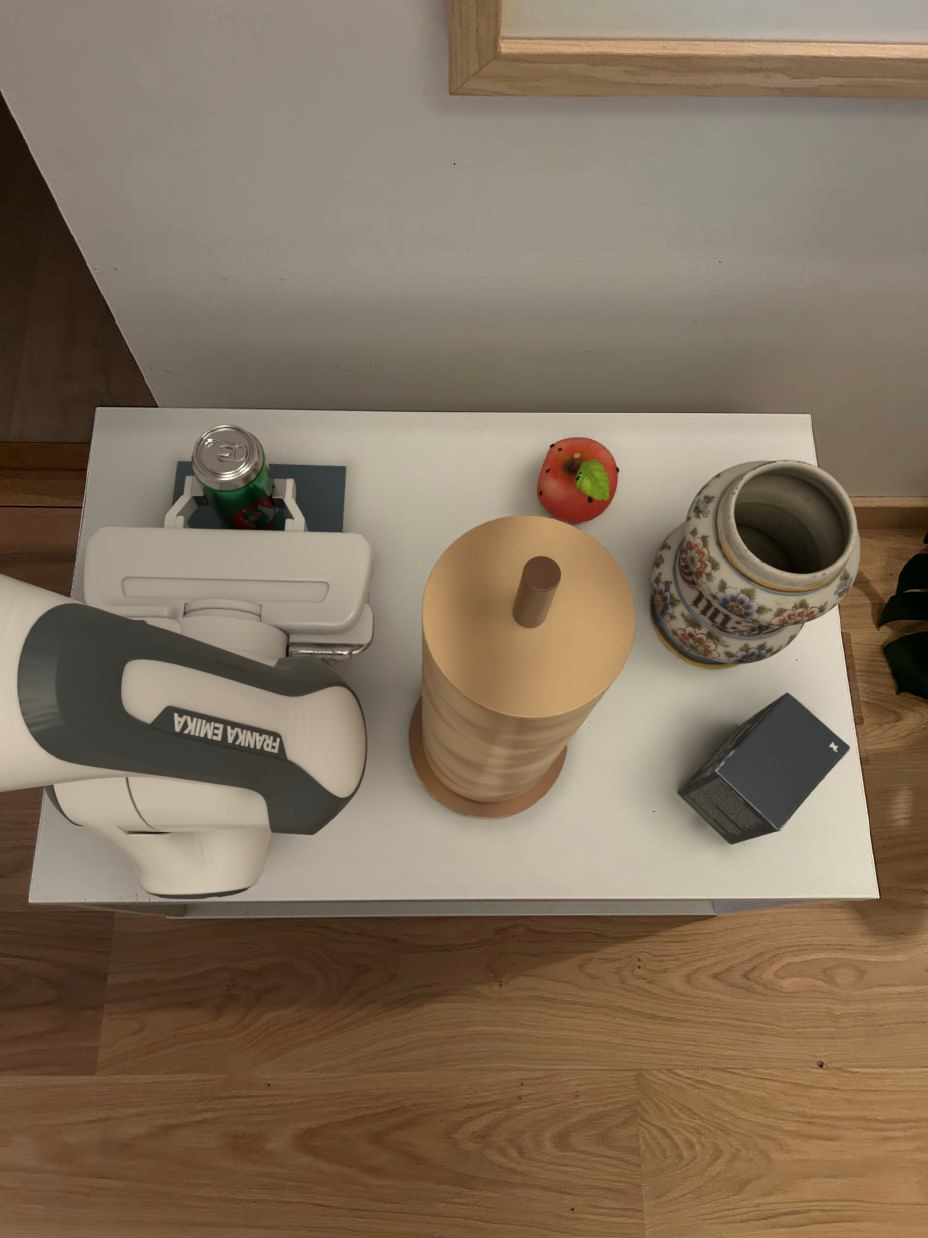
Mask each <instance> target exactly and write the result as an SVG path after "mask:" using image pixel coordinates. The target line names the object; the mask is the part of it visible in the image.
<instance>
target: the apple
mask: <svg viewBox="0 0 928 1238" xmlns="http://www.w3.org/2000/svg"><path fill="white" fill-rule="evenodd" d="M619 473H620V467H618V466H617V463H616V460H615V458H614V456H613V454H612V452H611V451H610V450H609V449H608V448H607V447H606V446H605V445H603V444H602V443H601V442H599V441H597V440H594V439H593V438H588V437H583V436H575V437H567V438H563V439H559V440H557V441H556V442H554V443H551V444H550V445H549V449H548V450H547V453H546V456H545V458H544V460H543V463H542V466H541V469H540V472H539V474H538V475H539V476H538V480H537V485H536V494H537V499H538V501H539V503H540V505H541V506H542V508H543V509H544V510H545V511H546V512H547V513H549V515H551V516H552V517H554V519H556V520H559V521H562V522H564V523H568V524H580V523H581V524H582V523H586V522H589V521H592V520H594V519H596V518H598V517H599V516H601V515H602V514H603V513H604V512H605V511H606V510H607V509H608V508H609V507H610V505H611V503H612V501H613V500H614V498H615V495H616V492H617V489H618V482H619Z"/></svg>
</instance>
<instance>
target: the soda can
mask: <svg viewBox="0 0 928 1238" xmlns="http://www.w3.org/2000/svg"><path fill="white" fill-rule="evenodd" d="M190 461H191V465H192V470H193V473H194V475H195V477H196V479H197V481H198V483H199V485H200V487H201V489H202V491H203V493H204V495H205V497H206V499H207V501H208V503H209V505H210V507H211V509H212V511H213V513H214V515H215V517H216V519H217V521H218V524H219V526H220V528H221V529H230V530H266V531H283V530H284V527H285V514H284V511H283V508H275V505H274V502H273V499H272V492H273V489H274V485H273V481H274V480H273V477H272V474H271V471H270V468H269V465H268V464H269V461H268V459H267V456H266V454H265V451H264V447H263V445H262V443H261V441H260V440H259V439H258V438H257V437H256V436H255V435H254V434H252V433H251V432H250V431H247V430H246V429H245V428H242V427H241V426H238V425H235V424H228V423H227V424H218V425H215V426H212V427H210V428H208V429H207V430H205V431H204V432H203V433H201V435H200V436H199V437H198V439H196V442H195V443H194V446H193V451H192V454H191V459H190Z"/></svg>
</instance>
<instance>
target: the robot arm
mask: <svg viewBox="0 0 928 1238" xmlns="http://www.w3.org/2000/svg"><path fill="white" fill-rule="evenodd" d="M273 485H274V489H273V492H272V499H273V502H274V505H275V508H284V509H287V511H288V513H289V515H290V517H291V519H287V520H286V523H285V531H266V530H230V529H192V528H190V527H189V525H188V523H187V521H188V520H189V518H190V517H191V515H192V514H193V513H194V511H195V510H196V509H197V507H198V506H209V503H208V501H207V499H206V497H205V495H204V493H203V491H202V489H201V487H200V485H199V483H198V481H197V479H196V477H195V476H186V479H185V487H184V495H182V496H181V497H180V498H179V499H178V501H177V502H176V503H175V504H174V505H173V506H172V505H171V508H170V509H169V510H168V511H167V513H165V515H164V522H163V527H157V526H156V527H155V526H154V527H153V526H152V527H151V526H150V527H149V526H121V525H120V526H119V525H117V526H116V525H102V526H100V527H99V528H97V529H96V530H95V531H94V532H93V533H92V534H91V535H90V536H89V537H88V539H87V542H86V547H85V553H84V563H83V564H84V565H83V598H84V602H85V603H84V602H82V601H79V600H76V599H74V598H72V597H69V596H65V595H62V594H60V593H57V592H55V591H52V590H49V589H46V588H44V587H40V586H37V585H34V584H31V583H29V582H25V581H22V580H20V579H16V578H15V577H11V576H8V575H5V574H2V573H0V793H4V792H11V791H17V790H24V789H32V788H38V787H43V789H44V791H45V793H46V795H47V798H48V799H49V801H50V802H51V803H52V805H53V806H54V808H55V809H56V810H57V811H58V812H59V813H60V814H61V815H62V817H64V818H65V819H66V820H67V821H68V822H69V823H71V824H72V825H74V826H77V827H86V828H88V829H89V830H91V831H93V832H95V833H96V834H98V835H99V836H101V837H103V838H104V839H105V840H106V841H108V842H109V843H111V844H112V845H113V846H114V847H116V848H117V849H119V851H121V852H122V854H124V855H125V856H126V857H127V859H128V860H129V861H130V862H131V864H132V865H133V869H134V872H135V878H136V881H137V884H138V886H139V888H140V889H141V890H142V891H143V892H145V893H146V894H149V895H152V896H154V897H158V898H160V899H169V900H206V899H208V898H225V897H229V896H230V897H231V896H235V895H238V894H241V893H244V892H246V891H248V890H249V889H250V888H252V887H254V886H255V885H257V884H258V883H259V882H260V879H261V876H262V873H263V870H264V868H265V864H266V860H267V858H268V857H267V856H268V852H269V848H270V842H271V840H272V839H271V838H272V834H282V835H283V834H284V835H285V834H286V835H302V836H314V835H317V833H319V832H320V831H321V830H322V829H324V828H325V827H326V826H327V825H328V824H329V823H330V822H332V821H333V820H334V819H335V818H336V817H337V816H339V814H340V813H342V812H343V810H344V809H345V808H346V806H348V805H349V803H351V800H352V799H353V798H354V797H355V796H356V794H357V793H358V791H359V789H360V787H361V785H362V782H363V779H364V775H365V771H366V767H367V760H368V759H367V758H368V733H367V732H368V731H367V724H366V719H365V715H364V710H363V708H362V705H361V702H360V699H359V697H358V695H357V694H356V692H355V691H354V689H353V688H352V687H351V686H350V684H349V683H348V682H347V681H346V680H345V679H344V678H343V677H342V675H340V674H339V672H337V671H336V670H335V669H334V668H333V667H331V665H329V664H328V663H326V662H325V661H323V660H332V661H335V662H336V661H337V662H345V661H350V660H352V658H353V656H357V655H360V654H362V653H363V652H365V651H366V650H367V649H368V648H369V647H370V646H371V644H372V643H373V640H374V637H375V625H376V624H375V622H376V616H375V612H374V609H373V608H372V605H370V604H369V599H370V594H371V589H372V582H373V573H374V562H375V561H374V560H375V559H374V550H373V546H372V544H371V543H370V541H369V540H368V539H367V538H366V536H364V534H363V533H360V532H342V533H340V532H308V529H307V525H306V522H305V519H304V517H303V515H302V513H301V511H300V510H299V508H298V506H297V504H296V502H295V500H296V485H295V481H294V479H274V481H273ZM353 647H356V648H354V649H353Z"/></svg>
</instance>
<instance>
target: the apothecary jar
mask: <svg viewBox="0 0 928 1238" xmlns="http://www.w3.org/2000/svg"><path fill="white" fill-rule="evenodd" d="M856 515H857V514H856V512H855V508H854V505H853V502H852V500H851V498H850V497H849V495H848V493H847V491H846V490H845V488H843V486H842V485H841V483H839V481H838V480H836V479H835V478H834V476H833V475H831V474H830V473H828V472H827V471H826V470H824V469H823V468H820V467H818V466H816V465H813V464H811V463H810V462H809V463H808V462H805V461H801V460H796V459H778V460H777V459H776V460H753V461H747V462H742V463H738V464H736V465H733V466H731V467H728V468H726V469H723V470H722V471H720V472H719V473H717V474H715V475H714V476H713V477H711V479H709V480H708V481H707V482H706V483H705V484H704V485H703V486H702V487H701V488H700V489H699V491H698V492H697V494H696V495H695V497H694V498H693V500H692V501H691V504H690V505H689V507H688V510H687V514H686V517H685V521H683V522H682V523H681V524H679V525H677V526H676V527H675V528H674V529H672V531H671V532H670V533H669V534H668V535H667V536H666V537H665V539H664V540H663V541H662V543H661V544H660V546H659V548H658V550H657V552H656V554H655V557H654V560H653V563H652V567H651V574H650V587H651V588H650V589H651V591H650V594H649V615H650V619H651V623H652V626H653V629H654V631H655V634H656V635H657V637H658V638H659V640H660V641H661V642H662V644H663V645H664V646H665V647H666V648H667V649H668V650H669V651H670V652H671V653H672V654H673V655H674V656H676V657H677V658H679V659H680V660H682V661H684V662H686V663H688V664H690V665H692V666H695V667H697V668H702V669H709V670H724V669H730V668H733V667H737V666H739V665H742V664H751V663H756V662H760V661H764V660H766V659H768V658H771V657H773V656H775V655H777V654H778V653H780V652H781V651H783V650H784V649H785V648H786V647H788V646H789V645H790V644H791V643H792V642H793V641H794V640H795V639H796V638H797V637H798V635H799V634H800V632H801V631H802V629H803V628H804V625H805V623H808V622H811V621H814V620H816V619H818V618H821V617H823V616H824V615H826V614H828V612H830V611H832V610H833V609H834V608H835V607H837V606H838V605H839V603H840V602H842V600H844V598H845V597H846V596H847V594H848V593H849V591H850V590H851V588H852V586H853V584H854V582H855V580H856V578H857V575H858V572H859V568H860V562H861V539H860V533H859V529H858V521H857V516H856Z"/></svg>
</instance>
